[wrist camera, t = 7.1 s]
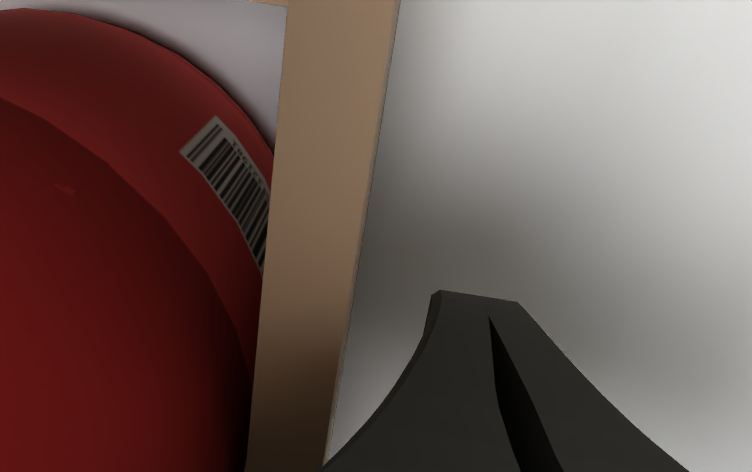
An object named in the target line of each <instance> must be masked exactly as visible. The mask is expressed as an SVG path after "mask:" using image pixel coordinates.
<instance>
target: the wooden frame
mask: <svg viewBox="0 0 752 472" xmlns="http://www.w3.org/2000/svg"><path fill="white" fill-rule="evenodd" d="M247 1H253V2H259V3H265V4H271V5H277V6H283V7H288V8H287V19H286V30H285V42H284V53H283V64H282V75H281V86H280V97H279V108H278V119H277V130H276V141H275V152H274V163H273V174H272V185H271V196H270V207H269V218H268V229H267V240H266V251H265V262H264V273H263V284H262V295H261V306H260V317H259V328H258V339H257V350H256V361H255V372H254V383H253V394H252V405H251V416H250V427H249V438H248V449H247V460H246V467H245V471H244V472H316V471H317V470H319V469H320V468H321V467H322V466H323V465H325V464H326V463H327V462H328V455H329V449H330V443H331V437H332V430H333V424H334V418H335V411H336V405H337V399H338V392H339V386H340V380H341V374H342V367H343V361H344V355H345V348H346V342H347V336H348V329H349V323H350V317H351V310H352V304H353V298H354V292H355V285H356V279H357V273H358V266H359V260H360V254H361V247H362V241H363V235H364V229H365V222H366V216H367V210H368V203H369V197H370V191H371V184H372V178H373V172H374V165H375V159H376V153H377V147H378V140H379V134H380V128H381V121H382V115H383V109H384V102H385V96H386V90H387V83H388V77H389V71H390V65H391V58H392V52H393V46H394V39H395V33H396V27H397V20H398V14H399V8H400V2H401V0H247Z"/></svg>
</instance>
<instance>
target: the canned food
mask: <svg viewBox="0 0 752 472" xmlns="http://www.w3.org/2000/svg"><path fill="white" fill-rule="evenodd" d="M273 163H274V156H273V154H272V152H271V150H270V149H269V147H268V146H267V144H266V143H265V141H264V140H263V138H262V137H261V135H260V134H259V132H258V131H257V129H256V128H255V126H254V125H253V123H252V122H251V120H250V119H249V117H248V116H247V115H246V114H245V113H244V112H243V111H242V109H241V108H240V107H239V106H238V105H237V104H236V103H235V102H234V101H233V100H232V99H231V98H230V97H229V96H228V95H227V94H226V93H225V92H224V91H223V89H222V88H221V87H220V86H219V85H218V84H217V83H215V82H214V81H213V80H211V79H210V78H209V77H207V76H206V75H205V74H203V73H202V72H201V71H199V70H198V69H197V68H195V67H194V66H193V65H191V64H190V63H189V62H187V61H186V60H185V59H183V58H182V57H181V56H179V55H177V54H175V53H173V52H171V51H169V50H167V49H165V48H163V47H161V46H160V45H158V44H156V43H154V42H152V41H150V40H148V39H146V38H144V37H142V36H140V35H138V34H135V33H133V32H130V31H128V30H125V29H122V28H119V27H116V26H113V25H109V24H106V23H103V22H100V21H96V20H93V19H90V18H86V17H83V16H80V15H77V14H73V13H65V12H56V11H46V10H37V9H27V8H19V9H10V10H1V11H0V472H244V471H245V467H246V460H247V449H248V438H249V427H250V416H251V405H252V394H253V383H254V372H255V361H256V350H257V339H258V328H259V317H260V306H261V295H262V284H263V273H264V262H265V251H266V240H267V229H268V218H269V207H270V196H271V185H272V174H273Z"/></svg>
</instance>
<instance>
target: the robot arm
mask: <svg viewBox="0 0 752 472" xmlns="http://www.w3.org/2000/svg"><path fill="white" fill-rule="evenodd" d="M316 472H689V471H688V470H687V469H685V468H684V467H683V466H682V465H681V464H679V463H678V462H677V461H676V460H674V459H673V458H672V457H671V456H670V455H668V454H667V453H666V452H665V451H663V450H662V449H661V448H660V447H659V446H657V445H656V444H655V443H654V442H652V441H651V440H650V439H649V438H648V437H647V436H646V435H644V434H643V433H642V432H641V431H640V430H639V429H638V428H636V427H635V426H634V425H633V424H632V423H631V422H630V421H629V420H628V419H627V418H626V417H625V416H624V415H623V414H622V413H621V412H620V411H619V410H617V409H616V408H615V407H614V406H613V405H612V404H611V403H610V402H609V401H608V400H607V399H606V398H605V397H604V396H603V395H602V394H601V393H600V392H599V391H598V390H597V389H596V388H595V387H594V386H593V385H592V384H591V383H590V382H589V381H588V380H587V379H586V378H585V377H584V375H583V374H582V373H581V372H580V371H579V370H578V369H577V368H576V367H575V366H574V365H573V364H572V363H571V361H570V360H569V359H568V358H567V357H566V356H565V355H564V354H563V353H562V351H561V350H560V349H559V348H558V347H557V346H556V345H555V344H554V342H553V341H552V340H551V339H550V338H549V337H548V336H547V334H546V333H545V332H544V331H543V330H542V329H541V327H540V326H539V325H538V324H537V323H536V322H535V321H534V319H533V318H532V317H531V316H530V315H529V314H528V313H527V312H526V310H525V309H524V308H523V307H522V306H521V305H520V304H519V303H518V302H513V301H507V300H501V299H495V298H488V297H482V296H476V295H470V294H463V293H457V292H451V291H445V290H439V291H437V292H436V293H434V294H432V295H431V300H430V304H429V309H428V314H427V318H426V323H425V328H424V332H423V336H422V338H421V340H420V342H419V344H418V346H417V349H416V351H415V353H414V355H413V356H412V358H411V360H410V362H409V363H408V365H407V366H406V368H405V370H404V371H403V373H402V374H401V376H400V378H399V379H398V381H397V382H396V384H395V385H394V387H393V388H392V390H391V391H390V393H389V394H388V395H387V397H386V398H385V399H384V401H383V402H382V403H381V405H380V406H379V407H378V408H377V410H376V411H375V412H374V413H373V415H372V416H371V417H370V418H369V419H368V421H367V422H366V423H365V424H364V425H363V426H362V427H361V428H360V429H359V430H358V432H357V433H356V434H355V435H354V436H353V437H352V438H351V439H350V440H349V441H348V442H347V443H346V444H345V445H344V447H343V448H341V449H340V450H339V451H338V452H337V453H336V454H335V455H334V456H333V457H332V458H331V459H330V460H329V461H328V462H327V463H326V464H325V465H323V466H322V467H321V468H320V469H319V470H317V471H316Z"/></svg>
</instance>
